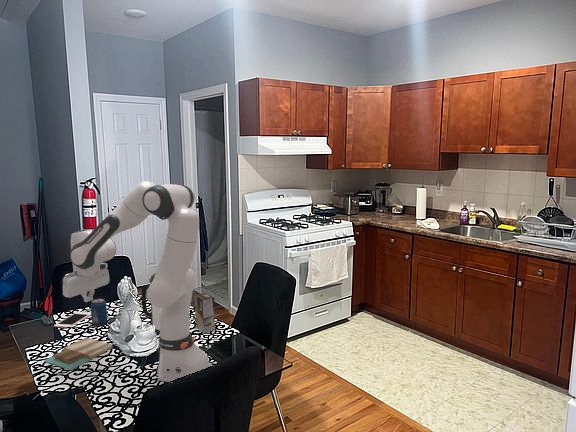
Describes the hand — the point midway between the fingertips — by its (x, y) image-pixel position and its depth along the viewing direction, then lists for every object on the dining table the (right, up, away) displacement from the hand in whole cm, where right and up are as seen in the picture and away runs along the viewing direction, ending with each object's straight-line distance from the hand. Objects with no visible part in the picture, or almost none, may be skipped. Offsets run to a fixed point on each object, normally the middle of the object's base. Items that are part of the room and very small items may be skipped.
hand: (88, 300), depth 175 cm
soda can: (-10, -18, +32) cm, 38 cm away
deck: (-2, -22, +5) cm, 23 cm away
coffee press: (+23, -19, +27) cm, 40 cm away
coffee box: (+43, -19, +27) cm, 54 cm away
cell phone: (-25, -18, +37) cm, 48 cm away
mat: (-7, -23, -5) cm, 25 cm away
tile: (-6, -23, -3) cm, 24 cm away
